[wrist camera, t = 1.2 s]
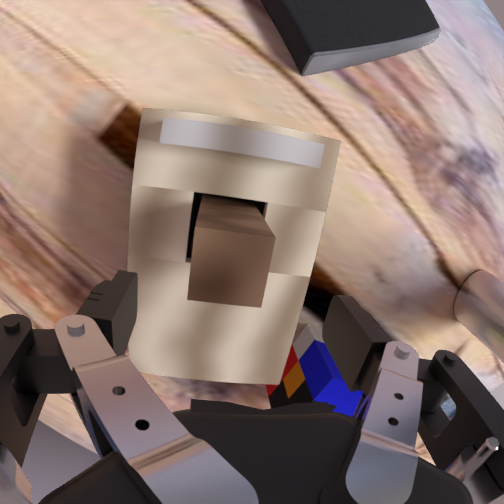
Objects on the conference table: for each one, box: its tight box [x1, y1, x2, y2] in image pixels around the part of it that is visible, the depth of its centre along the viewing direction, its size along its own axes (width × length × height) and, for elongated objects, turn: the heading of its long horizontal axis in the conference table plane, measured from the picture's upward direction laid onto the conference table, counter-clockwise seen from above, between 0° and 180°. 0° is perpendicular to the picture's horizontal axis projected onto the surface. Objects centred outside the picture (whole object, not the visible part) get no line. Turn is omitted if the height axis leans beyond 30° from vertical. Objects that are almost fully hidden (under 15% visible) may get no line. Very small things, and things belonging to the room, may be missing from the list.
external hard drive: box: [261, 0, 441, 76], centre depth 23 cm, size 13×19×4 cm
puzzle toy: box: [266, 324, 363, 417], centre depth 35 cm, size 10×10×10 cm
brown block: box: [187, 193, 276, 308], centre depth 23 cm, size 4×4×15 cm
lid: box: [127, 108, 341, 385], centre depth 22 cm, size 14×22×3 cm, turn 170°
